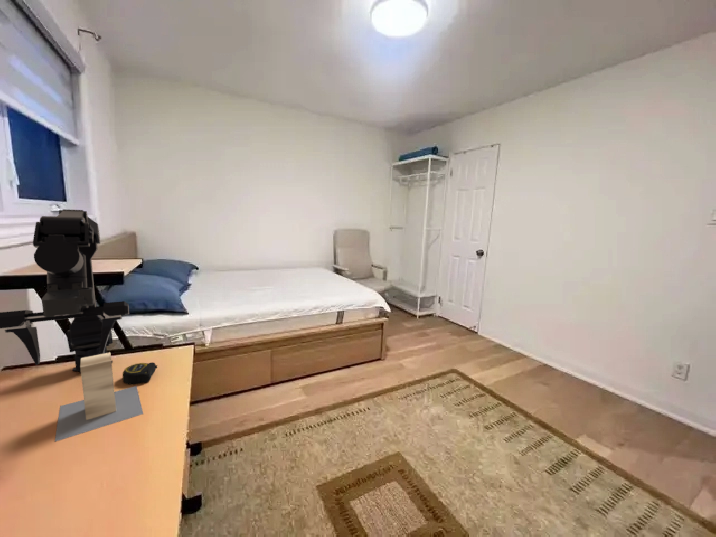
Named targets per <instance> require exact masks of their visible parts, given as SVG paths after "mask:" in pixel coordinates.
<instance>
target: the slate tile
mask: <svg viewBox="0 0 716 537" xmlns="http://www.w3.org/2000/svg"><path fill="white" fill-rule="evenodd" d="M114 393H115V403H116V411H115V412H112V413H109V414H105V415H102V416H98V417H95V418H92V419H88V420H86V413H85V404H84V399H81V400H78V401H75V402H70V403H66V404H63V405H59V406H60V407H59V412H58V418H57V425H56V431H55V432H56V433H55V439H54V442H59V441H62V440H64V439H69V438H72V437H74V436H77V435H80V434H81V435H82V434H85V433H88V432H90V431H93V430H98V429H99V428H103V427H106V426H109V425H113V424H116V423H119V422H122V421H125V420H129V419H133V418H135V417H138V416H141V415H144V411H143V408H142V404H141V400H140V395H139V391H138V386H137V385H135V386H132V387H126V388H124V389H119V390H116V391H115V390H114Z"/></svg>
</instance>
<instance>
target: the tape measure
mask: <svg viewBox="0 0 716 537" xmlns="http://www.w3.org/2000/svg"><path fill="white" fill-rule="evenodd" d="M156 369H158V364H157V365H156V363H155V362H148V363H147V362H139V363H135V364H131V365H128V366H127V367H126V368H124V370H123V371H122V380H123V383H124V384H126V385H131V386H132V385H139V384H143V383H148V382H149V381H150V380H151V379H152V376H153V375H154V373H155V371H156Z"/></svg>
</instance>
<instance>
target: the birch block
mask: <svg viewBox="0 0 716 537" xmlns="http://www.w3.org/2000/svg"><path fill="white" fill-rule="evenodd" d="M111 360H112V355H111V352H107V353H105V354H99V355H94V356H89V357H84V358H81V364H80V370H81V372H80V376H81V384H82V385H81V386H82V394H83V400H84V404H85V413H86V420H88V419H92V418H95V417H98V416H102V415H105V414H109V413H112V412H115V411H116V403H115V393H114V392H115V384H114V376H113V375H114V374H113V373H114V372H113V365H112V363H113V362H111Z"/></svg>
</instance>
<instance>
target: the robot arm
mask: <svg viewBox="0 0 716 537" xmlns="http://www.w3.org/2000/svg"><path fill="white" fill-rule="evenodd" d="M33 231H34V233H33V239H32V240H33V241H32V246H33V247H34V248H36V249H35V251H34V253H33V260H34V261H35V262H34V263H35V264H36V265H37V266H38V267H39V268H40V269H42V270H44V271H45V272H46V284H47V287H46V289H47V290H46V292H45V294H44V295H43V296H42V298H41V305H42V306H41V307H42V312H41V311H40V312H34V310H27V309H25V310H14V311H13V310H12V311H1V312H0V329H4V332H5V333H7V334H8V333H13V334H14V335H15V336H16V337H18V338H19V340H20V341H21V343H23V345H24V347H25V349H26V350H27V352H28V353H29V355H30V357H31V359H32V361H33V362H34V365H40V363H41V351H40V350H41V349H40V343H39V336H38V330H37V329H38V327H37V326H32V325H33V323H39V322H47V321H48V322H50V321H59V320H67V319H73V320H72V321H71V323H70V325H69V330H67V331H66V332H67V333H66V339H67V344H68V349H69V353H73V352H74V353H75V356H74V362H75V363H74V364H75V365H74V366H75V367H73V368H72V369H71V371H72V372H80V373H81V370H80V364H81V358H84V357H89V356H94V355H99V354H105V353H108V350H107V347H110V346H111V345H112V344H113V343H114V341H113V340H114V339H113V334H112V329H113V328H114V325H115V323H116V321H118V320H123V318H122V316H123V315H125V316H126V315H130V307H129V303H128V302H126V301H125V300H123V301H113V302H103V306H97V303H96V295H95V285H94V284H95V282H94V274H93V273H94V271H93V263H92V262H93V261H92V258H93V257H94V255H96V253H97V251H98V245H99V244H101V237H100V230H99V224H98V223H97V222H96V221H95V220H94V219H92V218H90V217H89V215H88V212H87V211H85V210H83V209H62V210H61V209H60V210H59V211H58V215H57V216H55V215H53V216H50V215H49V216H48V215H45V216H44V215H41V216H40V218H39V221H36V222H35V225H34V230H33ZM111 362H112V363H113V362H114V361H113V360H112V359H111Z"/></svg>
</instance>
